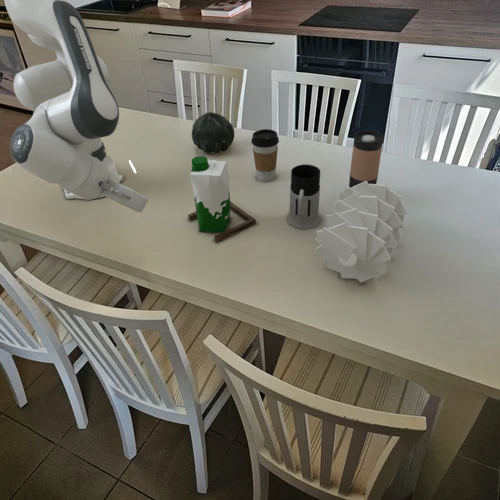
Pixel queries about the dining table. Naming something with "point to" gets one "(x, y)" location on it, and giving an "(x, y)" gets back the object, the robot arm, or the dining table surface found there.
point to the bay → (235, 229)
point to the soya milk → (211, 194)
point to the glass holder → (304, 196)
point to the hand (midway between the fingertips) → (134, 202)
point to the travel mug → (365, 157)
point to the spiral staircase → (362, 231)
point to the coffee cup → (265, 153)
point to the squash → (212, 133)
